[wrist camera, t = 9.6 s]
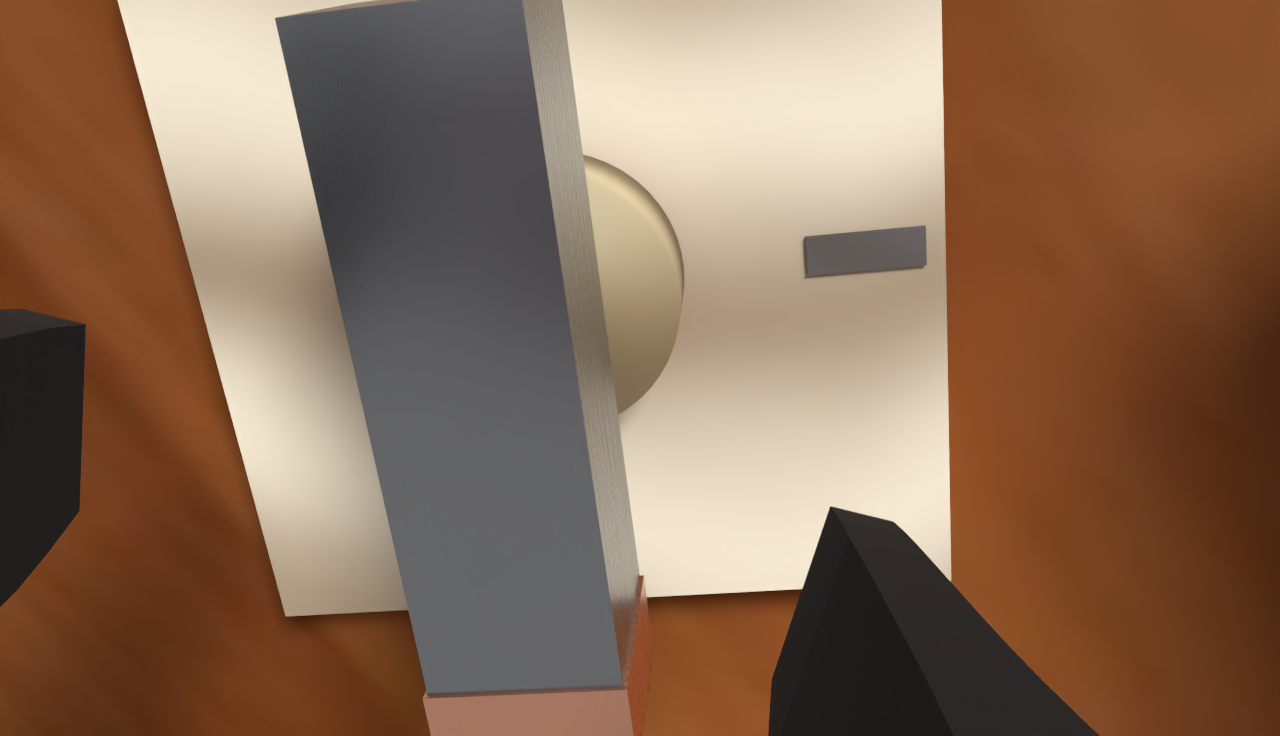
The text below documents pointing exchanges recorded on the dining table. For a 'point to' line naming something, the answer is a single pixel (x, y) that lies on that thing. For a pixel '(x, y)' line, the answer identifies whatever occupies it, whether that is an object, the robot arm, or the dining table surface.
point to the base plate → (745, 335)
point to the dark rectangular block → (480, 353)
